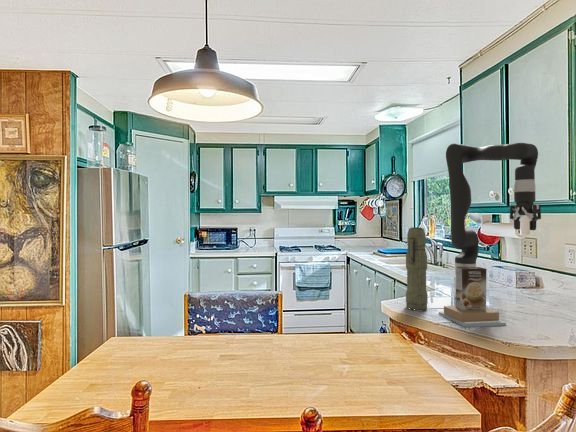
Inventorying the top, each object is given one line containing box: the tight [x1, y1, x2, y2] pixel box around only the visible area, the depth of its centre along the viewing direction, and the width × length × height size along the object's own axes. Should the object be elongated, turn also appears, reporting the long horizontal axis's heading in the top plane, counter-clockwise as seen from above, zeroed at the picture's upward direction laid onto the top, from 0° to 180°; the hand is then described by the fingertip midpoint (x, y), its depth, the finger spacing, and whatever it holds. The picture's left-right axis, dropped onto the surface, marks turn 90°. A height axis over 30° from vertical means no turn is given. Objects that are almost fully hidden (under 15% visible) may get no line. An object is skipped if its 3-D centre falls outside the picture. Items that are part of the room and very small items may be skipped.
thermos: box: [405, 226, 429, 311], centre depth 163 cm, size 9×12×35 cm
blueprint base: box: [438, 305, 507, 328], centre depth 145 cm, size 18×16×4 cm
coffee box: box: [455, 266, 487, 311], centre depth 145 cm, size 9×6×16 cm
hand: (524, 229), depth 157 cm, fingers open, 8 cm apart
